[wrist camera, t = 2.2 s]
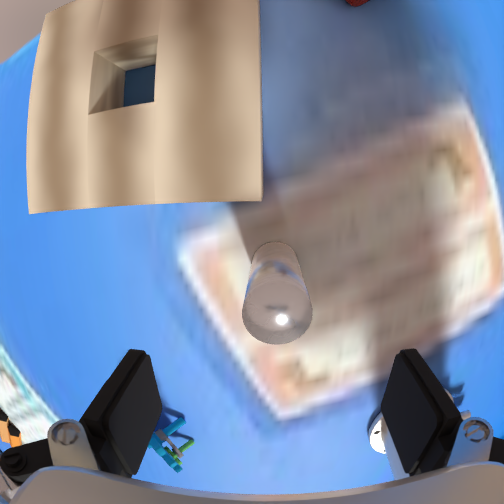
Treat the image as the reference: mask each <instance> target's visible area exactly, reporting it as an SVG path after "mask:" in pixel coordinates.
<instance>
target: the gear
mask: <svg viewBox="0 0 504 504" xmlns="http://www.w3.org/2000/svg"><path fill="white" fill-rule="evenodd" d="M185 423H186V422H185V421H184V419H183V418H182V417H180V418H178V419H177V420H176V421H174V422H173V423H172V424H170V425H169V426H167V427H166V428H165V429H163V430H161V429H159V430H157V431H156V432H154V433H153V434H152V437H151V439H150V442H149V444H148V447H149V449H150V448H153V449H154V450H155V451H156V452H157V453H158V454H159V455H160V456H161V457H162V458H163V459H164V460H165V461H166V463H167V464H168V465H169V466H170V467H171V468H173V469H174V470H175V471H176V472H177V473H178V472H180V471H181V470H182V468H181V466H180V465H181V464H182V462H181V461H180V460H179V459H178V458H177V457H179V458H181V457H182V456H184V455H183V454H182V452H184V451H185V450H186V449H188V448H189V447H190V446H192V445H193V444H194V442H193V441H192V440H189V441H188V442H187V443H185V444H184V445H183V446H181V447H180V448H179V449H177V447H176V446H175V445H174V444H173V443H172V442H171V441H170V439H169V438H168V437H167V436H169V435H170V434H172V433H173V432H174V431H176V430H177V429H179V428H180V427H181V426H183V425H184V424H185ZM165 441H167V442H168V443H169V444H170V445H171V446H172V448H173V449H172V451H173V452H172V451H171V450H170V449H169V448H168V447H167V446H166V447H163V446H162V443H163V442H165ZM173 458H174V459H175V460H174V459H173Z"/></svg>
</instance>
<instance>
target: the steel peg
mask: <svg viewBox="0 0 504 504" xmlns="http://www.w3.org/2000/svg"><path fill="white" fill-rule="evenodd" d="M242 318H243V322H244V325H245V327H246V329H247V330H248V331H249V333H250V334H251V335H252V336H253V337H255V338H256V339H258V340H260V341H262V342H265V343H268V344H285V343H289V342H292V341H294V340H296V339H297V338H299V337H300V336H301V335H303V334H304V333H305V331H306V330H307V329H308V327H309V325H310V323H311V320H312V305H311V302H310V298H309V295H308V292H307V288H306V285H305V282H304V279H303V275H302V272H301V269H300V266H299V263H298V259H297V256H296V254H295V252H294V251H293V249H292V248H291V247H289V246H288V245H286V244H284V243H281V242H269V243H266V244H264V245H262V246H261V247H260V248H259V249H258V250H257V251H256V252H255V254H254V257H253V261H252V266H251V270H250V275H249V280H248V285H247V290H246V295H245V300H244V304H243V309H242Z"/></svg>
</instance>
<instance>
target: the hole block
mask: <svg viewBox="0 0 504 504" xmlns="http://www.w3.org/2000/svg"><path fill="white" fill-rule="evenodd" d="M151 65H156V71H155V91H154V102H150V103H144V104H138V105H132V106H127V107H123V104H124V86H125V72H126V71H127V70H132V69H137V68H141V67H146V66H151ZM27 192H28V206H29V214H33V213H43V212H52V211H63V210H74V209H85V208H98V207H112V206H127V205H144V204H164V203H189V202H227V201H262V198H263V128H262V74H261V33H260V0H75V1H72V2H70V3H68V4H66V5H64V6H62V7H59V8H57V9H55V10H53V11H52V12H49V13H47V14H46V16H45V20H44V24H43V28H42V32H41V36H40V40H39V44H38V49H37V54H36V59H35V65H34V71H33V77H32V84H31V92H30V101H29V111H28V125H27Z"/></svg>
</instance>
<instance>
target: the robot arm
mask: <svg viewBox="0 0 504 504" xmlns="http://www.w3.org/2000/svg"><path fill="white" fill-rule="evenodd" d="M161 412H162V403H161V399H160V395H159V392H158V388H157V384H156V380H155V376H154V371H153V367H152V363H151V358H150V356H149V355H146V352H145V351H143V350H135V349H130V350H129V351H128V352H127V353H126V355H125V356H124V358H123V359H122V361H121V362H120V363H119V365H118V366H117V368H116V369H115V370H114V372H113V373H112V375H111V376H110V378H109V379H108V380H107V381H106V382H105V384H104V385H103V387H102V388H101V389H100V391H99V392H98V394H97V395H96V397H95V398H94V400H93V401H92V403H91V404H90V406H89V407H88V408H87V410H86V411H85V413H84V414H83V416H82V417H81V419H80V420H79V422H78V421H76V420H73V419H63V420H60V421H57V422H56V423H54V424H53V425H52V426H51V427H50V428H49V431H48V438H47V439H43V440H39V441H36V442H32V443H28V444H24V445H20V446H16V447H12V448H9V449H7V450H6V451H4V452H3V454H2V455H1V458H0V504H504V440H503V439H499V438H496V437H493V429H492V426H491V425H490V424H489V422H487V421H486V420H484V419H482V418H479V417H470V416H471V413H470V411H469V410H467V411H463V412H461V413H460V412H459V410H458V409H457V407H456V406H455V404H454V400H453V397H452V395H451V394H450V392H449V391H448V390H447V389H445V388H443V387H442V385H441V384H440V382H439V381H438V379H437V378H436V376H435V375H434V374H433V372H432V371H431V369H430V368H429V367H428V365H427V364H426V362H425V361H424V360H423V358H422V357H421V355H420V354H419V353H418V351H417V350H416V349H414V348H413V349H405V350H401V351H400V353H399V354H397V355H396V356H395V360H394V363H393V367H392V371H391V374H390V377H389V381H388V384H387V387H386V391H385V394H384V397H383V400H382V403H381V412H380V414H379V415H378V416H377V417H376V418H375V420H374V421H373V423H372V424H371V427H370V429H369V434H368V437H369V441H370V444H371V446H372V447H373V449H374V450H376V451H378V452H381V453H386V455H387V458H388V461H389V464H390V467H391V470H392V474H393V477H394V481H390V482H385V483H380V484H375V485H370V486H364V487H358V488H352V489H345V490H337V491H328V492H318V493H305V494H281V495H256V494H233V493H219V492H209V491H200V490H192V489H185V488H178V487H172V486H167V485H161V484H156V483H151V482H146V481H141V480H137V479H133V478H131V477H132V474H133V475H136V474H137V472H138V470H139V467H140V464H141V462H142V459H143V457H144V454H145V452H146V449H147V447H148V444H149V442H150V439H151V437H152V434H153V432H154V430H155V427H156V425H157V422H158V420H159V417H160V415H161Z"/></svg>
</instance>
